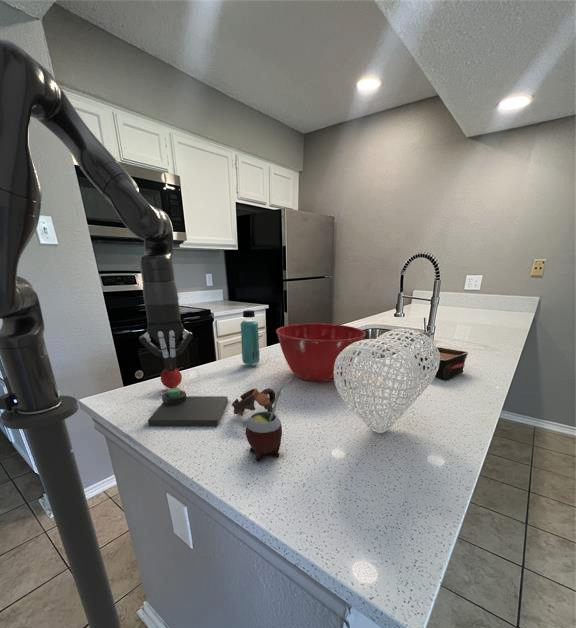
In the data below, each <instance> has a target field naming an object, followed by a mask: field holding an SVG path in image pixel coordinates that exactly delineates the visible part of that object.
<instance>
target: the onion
mask: <svg viewBox="0 0 576 628" xmlns="http://www.w3.org/2000/svg"><path fill="white" fill-rule="evenodd" d="M171 370H172V369H171ZM182 380H183V376H182V373H181V372H180V370H179V369H178V368H177V369H175V371H174V372H169V370H166V369H165V368H164V369H163V370H162V372H161V373H160V382H161V383H162V385H163V386H164V387H165V388H168V389H172V388H177V387H178V386H180V384H181V383H182Z"/></svg>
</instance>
